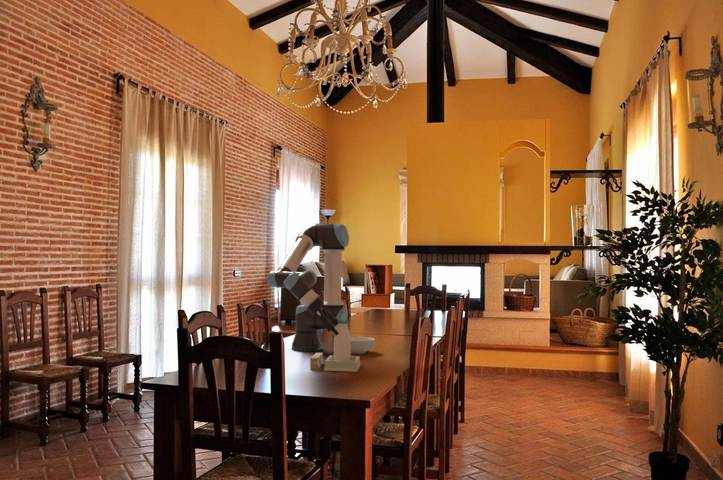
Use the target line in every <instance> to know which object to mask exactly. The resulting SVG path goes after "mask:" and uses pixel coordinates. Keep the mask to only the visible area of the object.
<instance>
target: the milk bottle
mask: <svg viewBox="0 0 723 480" xmlns="http://www.w3.org/2000/svg"><path fill="white" fill-rule="evenodd" d="M338 330H339V331H340V332H341V333H342V334H343V335H344V336H345V337H346V338H345V339H344V340H343V341H342V342H340V341H339V340H338V339H337V337H336V336H335V335H334V338H333V341H334V342H333V355H334V361H351V356H352V353H351V350H352V341H351V337H352V335H351V333H350V329H349V319H348V318H347V319H339V320H338Z"/></svg>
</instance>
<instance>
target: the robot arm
mask: <svg viewBox="0 0 723 480" xmlns="http://www.w3.org/2000/svg"><path fill="white" fill-rule="evenodd" d="M294 240H295V243H294V244H293V246H292V248H291V249H290V250H289V252H288V253H287V255H286V257H284V259H283V261H282V263H281V264H280V266H279V267H278V269H277V270H272V271H269V272H268V274H267V284H268V286H269V287H271V288H277V289H279V288H282V289H287V290H288V291H289V292H290V293H291V294H292V295H293V296H294V297H295V298H296V299H297V300H298V301H299V302H300V304H299V305H298V306H296V308H295V333H294V337H293V340H292V343H291V350H293V351H296V352H316V351H318V352H319V351H321V350H322V343H321V339H320V336H319V330H321V331H323V330H324V331H327V332H328V333H330V332H331V334H333V336H334V337H335V336H336V337H337V339H338V340H339V341H340V342H342V341H343V340H344V339H345V338H346V337H345V336H344V335H343V334H342V333H341V332H340V331H339V330H338V320H339V319H347V320H348V318H349V317H348V316H349V312H348V308H346V307H345V306H344V305H345V303H344V302H343V301H342V254H343V252H345V249H346V248H347V247H348V245H349V242H350V236H349V231H348V228H347V226H346V225H345V224H343V223H337V222H336V223H335V222H334V223H313V224H310V225H309V226H307V227H305V228H304V229H303V230H301V231H300V233H299V234H297V236H296V238H295V239H294ZM315 247H321V251H322V252H323V253H324V272H323V273H324V278H323V280H324V281H323V282H324V283H323V290H324V291H323V300H322V298H321V297H320V296H319V295H318V293H316V292H315V290H313V289H312V287H314V285H315V284H316V283H317V281H318V276H317V273H316V272H315V271H314V270H310V269H308V270H304V271H297V270H298V268H299V266H300V265H301V263H302V261H303V260H304V258H305V257H306V255H307V254H308V252H310V251H311V250H312V249H313V248H315Z"/></svg>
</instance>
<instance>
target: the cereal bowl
mask: <svg viewBox="0 0 723 480" xmlns="http://www.w3.org/2000/svg"><path fill="white" fill-rule="evenodd" d="M351 341H352V350H351V354H355V355H358V354H359V355H362V354H367V352H369V351H371V350H372V349H373V348H374V346H375V344H376V343H375V341H376V340H375V338H373V337H367V336H351Z"/></svg>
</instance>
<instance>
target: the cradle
mask: <svg viewBox="0 0 723 480" xmlns="http://www.w3.org/2000/svg"><path fill="white" fill-rule="evenodd" d="M360 359H361V358H360V356H359V355H358V356H357V355H351V361H334V354H333V355H331V354H330V355H329V356H328V357H327V358H326V359H325V360H324V368H323V371H327V372H328V371H333V372H334V371H335V372H355V373H357V372H358V370H359V369H360V367H361V361H360Z"/></svg>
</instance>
